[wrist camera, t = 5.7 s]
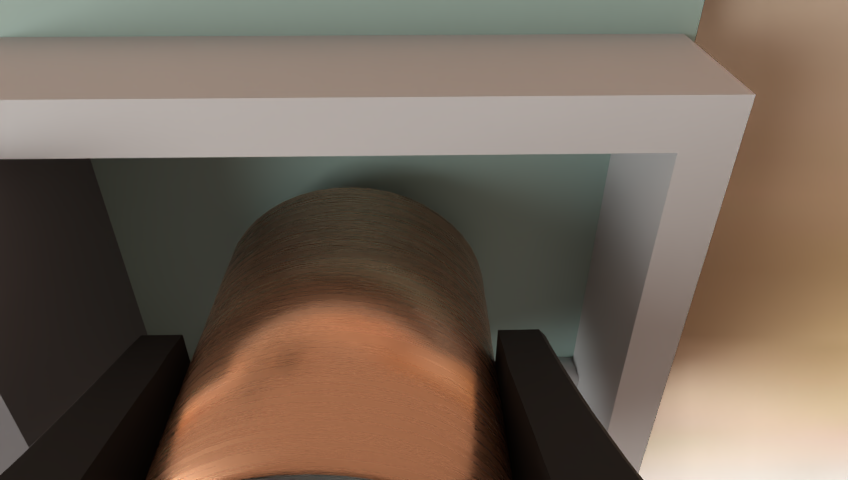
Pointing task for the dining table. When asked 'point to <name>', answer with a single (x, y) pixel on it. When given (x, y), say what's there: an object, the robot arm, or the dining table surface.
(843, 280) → the dining table surface
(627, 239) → the grey green open box
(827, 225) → the dining table surface
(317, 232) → the spout can
